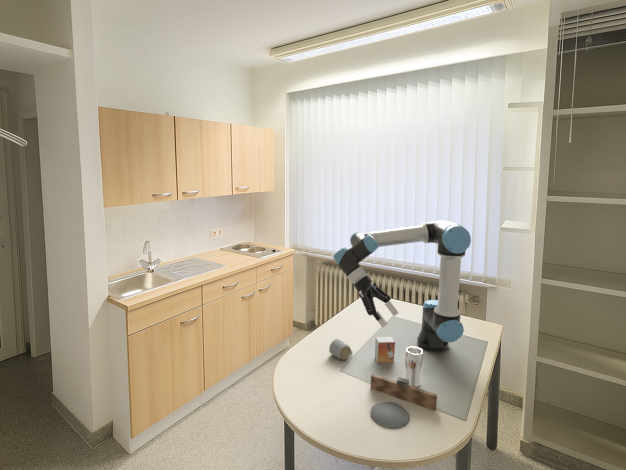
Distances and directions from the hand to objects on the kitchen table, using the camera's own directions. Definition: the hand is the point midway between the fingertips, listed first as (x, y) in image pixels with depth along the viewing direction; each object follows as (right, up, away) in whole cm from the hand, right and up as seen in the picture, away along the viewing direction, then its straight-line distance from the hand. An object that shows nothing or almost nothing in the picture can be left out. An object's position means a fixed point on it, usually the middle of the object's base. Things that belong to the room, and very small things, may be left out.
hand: (391, 320), depth 158 cm
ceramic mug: (-19, -22, +21) cm, 36 cm away
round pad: (-5, -30, -20) cm, 37 cm away
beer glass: (+9, -27, 0) cm, 28 cm away
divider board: (+2, -28, -10) cm, 30 cm away
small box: (0, -23, +18) cm, 29 cm away
